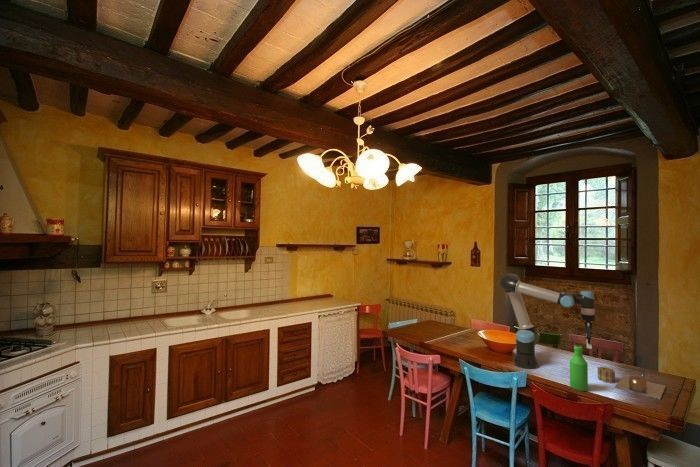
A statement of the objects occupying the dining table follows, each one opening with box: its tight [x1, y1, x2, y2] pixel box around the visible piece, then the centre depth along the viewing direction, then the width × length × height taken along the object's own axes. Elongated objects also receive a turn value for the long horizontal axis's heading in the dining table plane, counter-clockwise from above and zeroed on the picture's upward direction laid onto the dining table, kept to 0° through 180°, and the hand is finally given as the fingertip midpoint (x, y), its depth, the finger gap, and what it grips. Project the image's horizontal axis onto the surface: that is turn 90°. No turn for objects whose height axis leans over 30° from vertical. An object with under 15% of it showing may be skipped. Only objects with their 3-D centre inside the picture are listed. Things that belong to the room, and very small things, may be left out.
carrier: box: [614, 372, 666, 400], centre depth 199 cm, size 25×20×8 cm
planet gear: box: [597, 366, 616, 384], centre depth 210 cm, size 9×9×7 cm
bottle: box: [569, 345, 589, 392], centre depth 198 cm, size 9×9×25 cm
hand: (589, 345), depth 223 cm, fingers open, 13 cm apart
